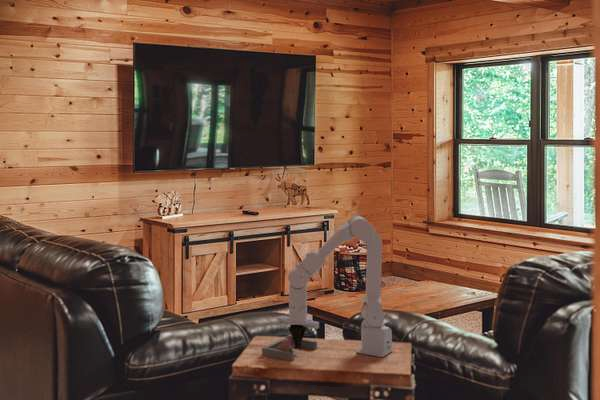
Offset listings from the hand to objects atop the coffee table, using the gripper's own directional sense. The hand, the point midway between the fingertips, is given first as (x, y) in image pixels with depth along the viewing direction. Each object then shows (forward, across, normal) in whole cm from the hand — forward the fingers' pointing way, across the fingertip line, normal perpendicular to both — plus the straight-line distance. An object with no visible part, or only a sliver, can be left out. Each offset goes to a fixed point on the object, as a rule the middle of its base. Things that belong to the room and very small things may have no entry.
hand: (298, 347), depth 238 cm
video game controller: (+2, -4, 0) cm, 5 cm away
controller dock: (+2, -4, 0) cm, 4 cm away
